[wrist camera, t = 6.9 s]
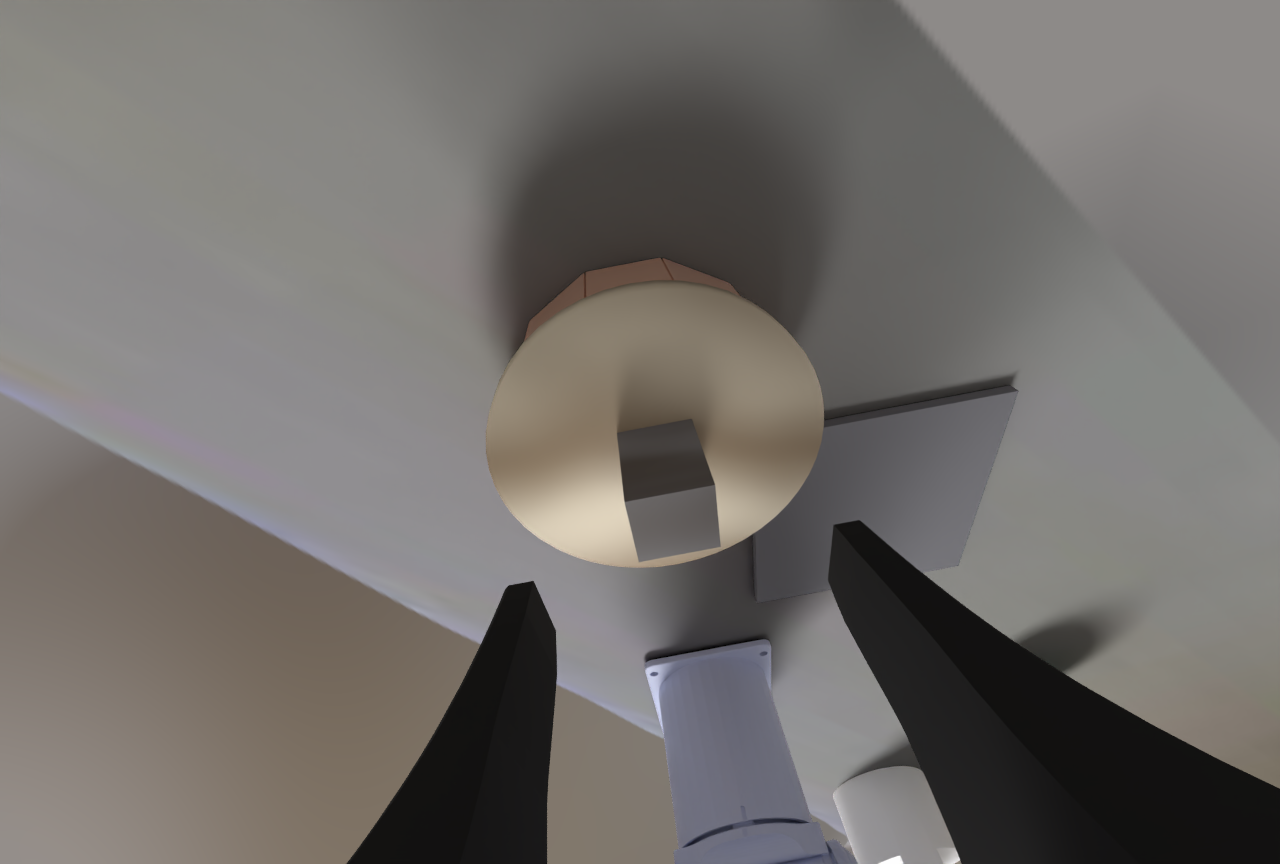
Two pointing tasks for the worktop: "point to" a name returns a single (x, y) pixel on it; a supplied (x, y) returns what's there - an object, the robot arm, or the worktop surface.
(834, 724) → the worktop surface
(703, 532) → the lid
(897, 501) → the mat
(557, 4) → the worktop surface
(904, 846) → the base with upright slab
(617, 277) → the bowl
